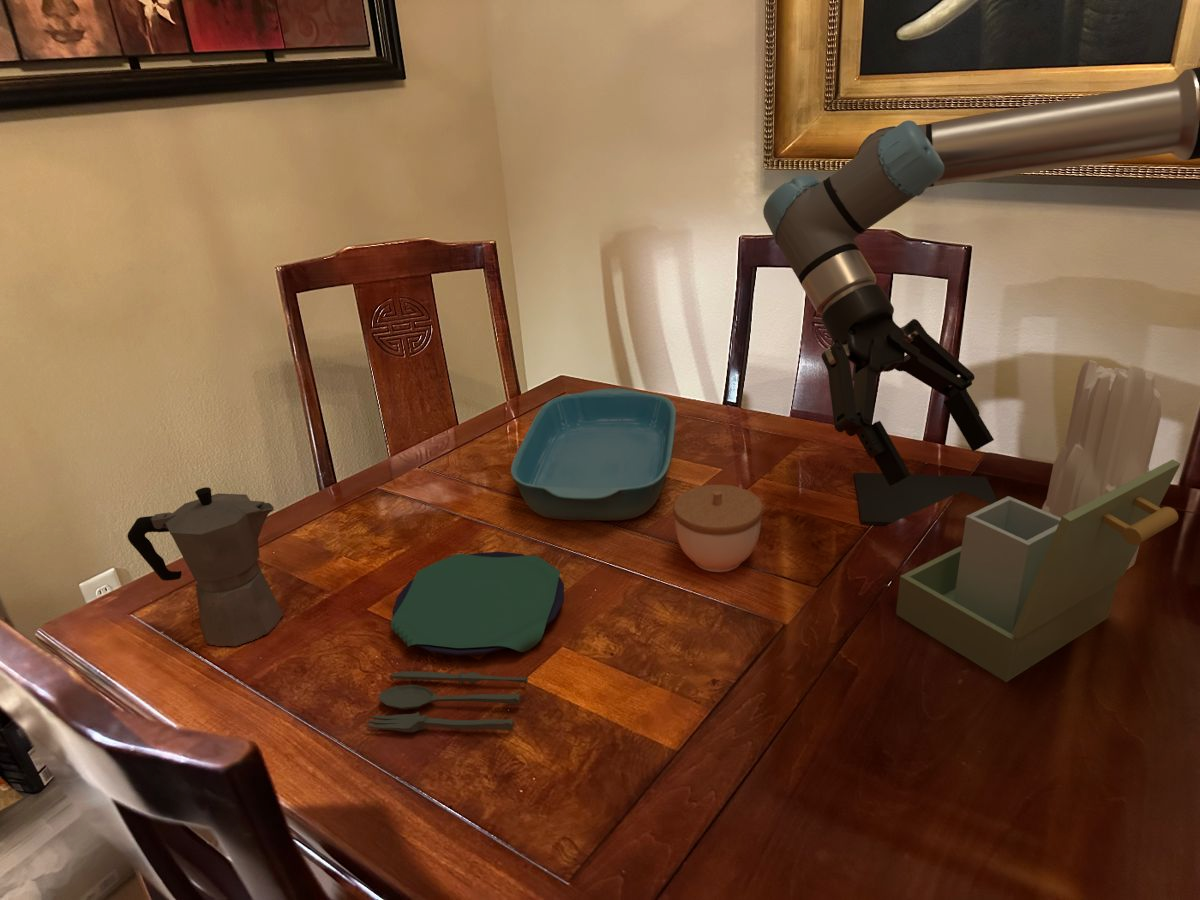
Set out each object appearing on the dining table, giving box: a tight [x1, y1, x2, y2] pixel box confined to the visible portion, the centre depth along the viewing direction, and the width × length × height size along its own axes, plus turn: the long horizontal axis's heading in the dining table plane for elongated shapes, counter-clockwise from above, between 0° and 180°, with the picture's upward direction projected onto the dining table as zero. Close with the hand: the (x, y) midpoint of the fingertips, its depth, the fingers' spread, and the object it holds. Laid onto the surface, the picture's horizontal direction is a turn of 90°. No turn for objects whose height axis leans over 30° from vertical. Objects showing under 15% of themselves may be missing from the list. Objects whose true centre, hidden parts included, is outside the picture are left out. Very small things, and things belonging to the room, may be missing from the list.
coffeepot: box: [126, 486, 284, 647], centre depth 95 cm, size 15×9×18 cm, turn 102°
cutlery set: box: [365, 551, 565, 733], centre depth 93 cm, size 20×30×2 cm, turn 173°
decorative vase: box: [1040, 359, 1162, 570], centre depth 96 cm, size 11×11×25 cm
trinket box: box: [672, 484, 763, 573], centre depth 103 cm, size 11×11×9 cm
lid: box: [1011, 459, 1182, 639], centre depth 78 cm, size 14×17×4 cm
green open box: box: [895, 545, 1119, 683], centre depth 90 cm, size 13×17×6 cm
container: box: [954, 495, 1061, 633], centre depth 88 cm, size 7×7×12 cm
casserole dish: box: [510, 387, 677, 522], centre depth 126 cm, size 37×22×7 cm, turn 172°
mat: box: [853, 471, 998, 527], centre depth 115 cm, size 18×14×1 cm
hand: (943, 463), depth 92 cm, fingers open, 13 cm apart
